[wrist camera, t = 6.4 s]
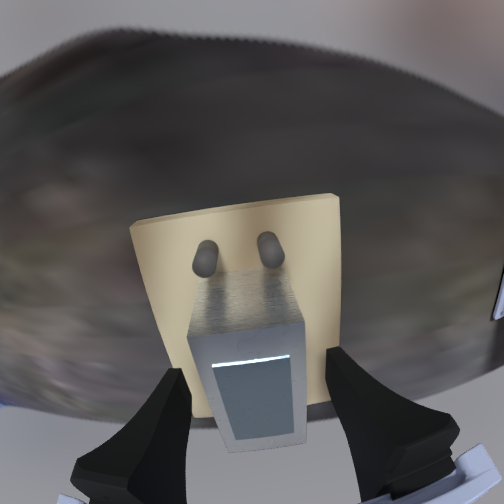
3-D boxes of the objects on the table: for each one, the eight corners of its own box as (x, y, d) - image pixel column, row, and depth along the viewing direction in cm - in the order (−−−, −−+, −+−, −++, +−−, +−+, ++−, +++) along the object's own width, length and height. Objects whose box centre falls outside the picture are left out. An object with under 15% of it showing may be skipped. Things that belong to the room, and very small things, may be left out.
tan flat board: (330, 193, 14) (355, 206, 11) (330, 387, 19) (341, 419, 16) (136, 220, 14) (113, 240, 11) (196, 405, 19) (192, 439, 16)
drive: (282, 264, 14) (305, 323, 9) (291, 379, 17) (306, 443, 12) (200, 275, 14) (186, 338, 9) (228, 387, 17) (228, 453, 12)
